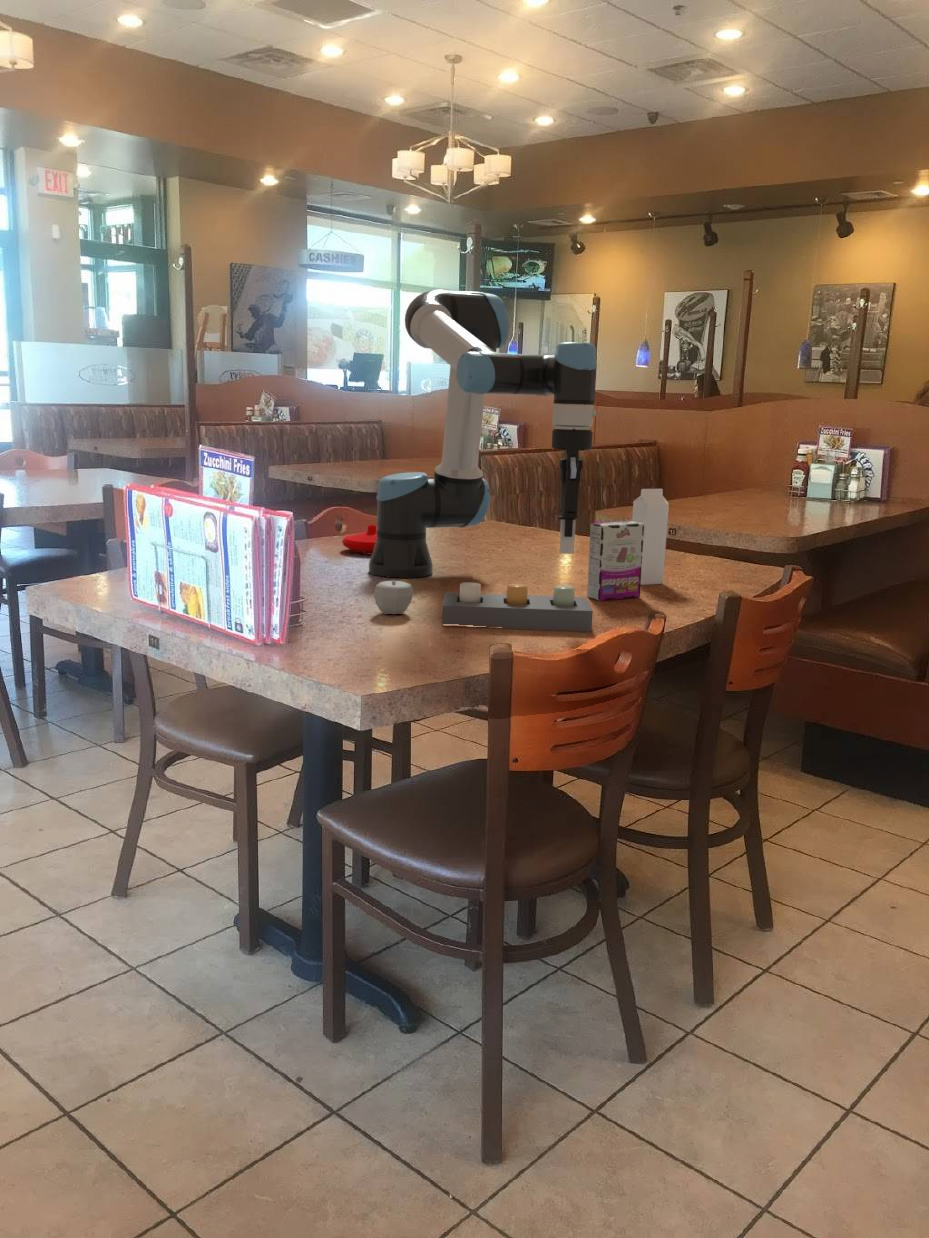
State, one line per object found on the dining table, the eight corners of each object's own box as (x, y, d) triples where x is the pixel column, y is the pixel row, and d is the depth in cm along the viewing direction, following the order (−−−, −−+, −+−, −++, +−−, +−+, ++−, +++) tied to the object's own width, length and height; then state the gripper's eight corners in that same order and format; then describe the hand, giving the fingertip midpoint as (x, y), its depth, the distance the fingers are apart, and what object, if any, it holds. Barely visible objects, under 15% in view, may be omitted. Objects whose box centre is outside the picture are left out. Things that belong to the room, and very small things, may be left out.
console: (442, 626, 188) (442, 605, 187) (444, 612, 199) (445, 592, 198) (591, 631, 187) (592, 611, 186) (585, 617, 199) (586, 597, 198)
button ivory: (459, 609, 191) (459, 586, 190) (459, 604, 195) (460, 582, 194) (480, 610, 191) (480, 586, 190) (480, 605, 195) (480, 582, 194)
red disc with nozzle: (350, 545, 274) (350, 520, 273) (406, 549, 272) (407, 523, 271) (335, 555, 259) (335, 528, 258) (394, 558, 257) (395, 531, 256)
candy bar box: (626, 593, 223) (632, 520, 219) (640, 598, 219) (646, 523, 215) (585, 597, 218) (589, 522, 214) (598, 601, 214) (603, 525, 210)
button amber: (506, 610, 191) (507, 587, 190) (505, 606, 195) (506, 583, 194) (527, 611, 191) (528, 588, 190) (526, 607, 195) (527, 584, 194)
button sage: (553, 612, 191) (554, 589, 190) (551, 608, 195) (553, 585, 194) (574, 613, 191) (575, 590, 190) (572, 608, 195) (573, 586, 194)
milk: (662, 584, 235) (671, 490, 230) (641, 585, 233) (648, 490, 228) (648, 579, 241) (656, 487, 235) (626, 580, 238) (634, 487, 233)
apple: (397, 620, 191) (398, 587, 190) (364, 614, 195) (365, 581, 194) (421, 613, 198) (422, 580, 196) (389, 607, 202) (389, 575, 200)
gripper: (596, 429, 181) (589, 559, 186) (588, 427, 193) (582, 548, 198) (555, 428, 181) (549, 557, 186) (550, 426, 193) (544, 547, 198)
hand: (566, 553), depth 192 cm, fingers closed
